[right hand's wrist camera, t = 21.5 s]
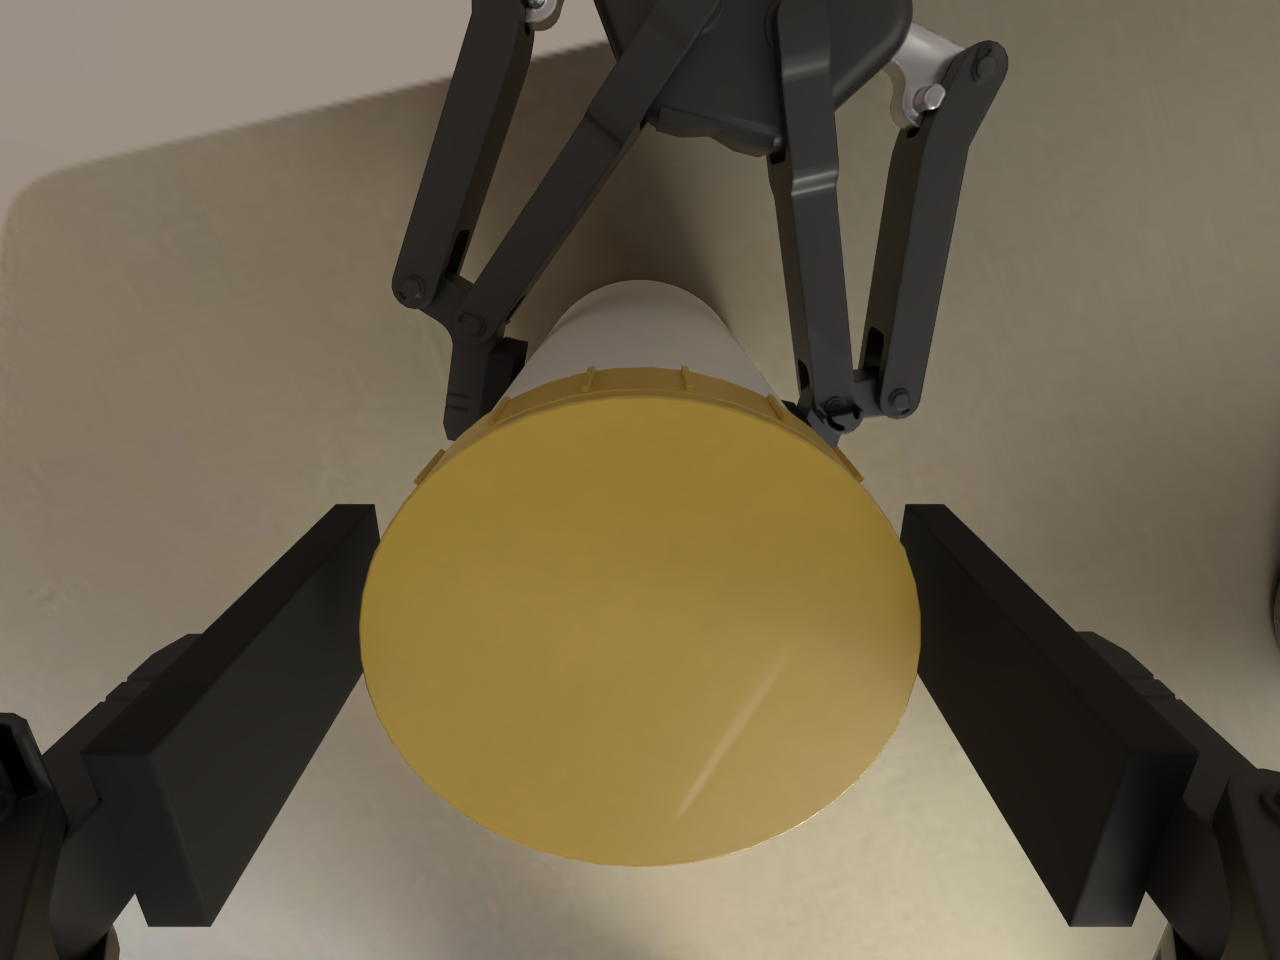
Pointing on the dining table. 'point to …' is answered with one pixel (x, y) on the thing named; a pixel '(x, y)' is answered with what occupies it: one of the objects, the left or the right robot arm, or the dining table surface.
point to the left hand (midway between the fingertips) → (609, 558)
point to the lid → (640, 620)
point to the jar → (640, 338)
